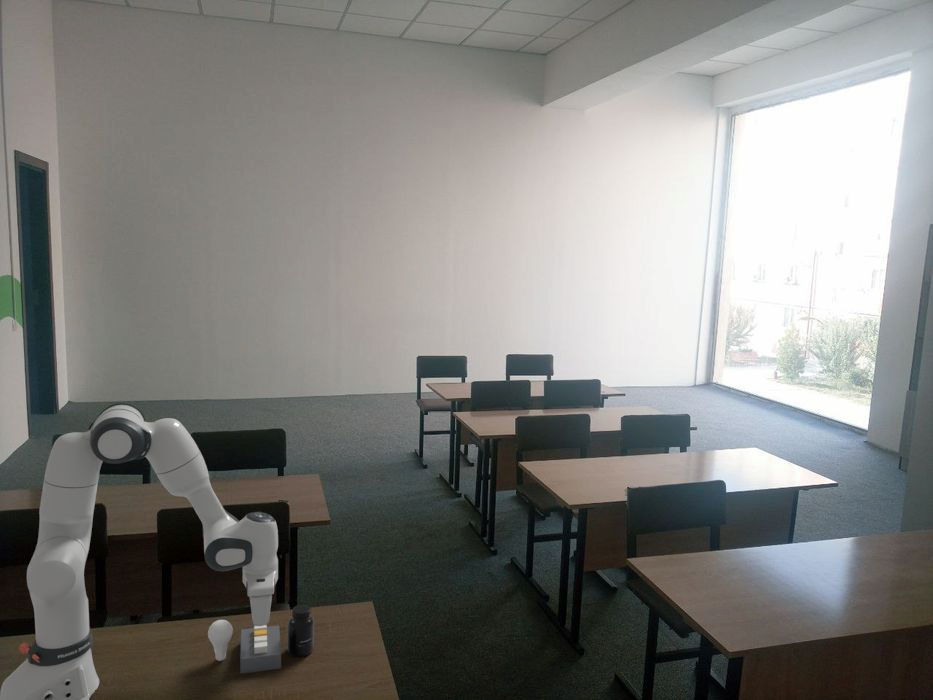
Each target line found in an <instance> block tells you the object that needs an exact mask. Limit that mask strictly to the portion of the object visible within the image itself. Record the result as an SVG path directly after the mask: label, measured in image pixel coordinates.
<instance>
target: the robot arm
mask: <svg viewBox="0 0 933 700" xmlns="http://www.w3.org/2000/svg"><path fill="white" fill-rule="evenodd" d="M54 441H55V442H54V444H53V446H52V448H51V450H50V454H49V457H48V460H47V463H46V466H45V472H44V478H43V484H42V491H41V497H40V504H39V512H38V514H39V525H38V527H39V528H38V538H37V544H36V545H35V550H34V552H33V555H32V557H31V560H30V562H29V564H28V566H27V569H26V583H27V584H26V585H27V588H28V591H29V596H30V599H31V603H32V606H33V612H34V613H33V614H34V628H35V639H34V642H33V643H32V645H29V644H28V643H27V642H23V643H21V644H20V646H19V647H18V650H19V652H21V654H23V655H27V658H26V659H25V660H24V661H23V662H22V663H21V664H20V665H19V666H18V667H17V668H16V669H15V670H14V671H12V672H11V674H10V675H9V676H7V677H6V678H5V679H4V681H3V682H2V684H1V688H0V700H90V699H91V696H92V695H93V694H94V693H95V692H96V691H95V690H97V689H98V687H99V685H100V678H99V676H98V674H97V671H96V668H95V665H94V661H93V659H94V658H93V655H92V650H93V634H92V628H91V627H90V611H89V598H88V596H87V591H86V586H85V585H86V584H85V576H84V575H85V568H86V567H85V566H86V562H87V558H88V554H89V551H90V543H91V537H92V528H93V522H94V521H93V518H94V511H95V504H96V498H97V492H98V486H99V485H98V483H99V479H100V473H101V472H100V470H101V467H102V464H103V462H104V463H107V464H112V465H113V464H115V465H116V464H122V463H126V462H130V461H135V460H136V461H137V460H141V459H143V458H146V459H147V461H148V462H149V464H150V466H151V468H152V470H153V471H154V473H155V474H156V476H157V478H158V480H159V482H160V483H161V485H162V486H163V487H164V489H166V490H167V491H168V492H169V494H170V495H172V496H174V497H182V498H183V497H185V498H186V499H187V501H189V503H190V504H191V506H192V508H193V509H194V511H195V513H196V515H197V516H198V518H199V520H200V521H201V524H202V538H203V550H204V551H203V553H204V561H205V563H206V564H207V566H208V567H209V568H210V569H212V570H214V571H217V572H228V571H233V570H237V569H239V568H242V583H243V584H244V587H245V589H246V594H247V597H248V598H249V602H250V609H251V610H250V611H251V617H252V618H251V619H252V625H253V626H263V625H268V624H269V622H270V615H271V606H272V598H273V596H272V595H274V593H275V587H276V584H277V582H278V580H279V558H278V555H277V552H278V548H279V534H278V533H279V530H278V525H277V522H276V519H275V518H274V517H273V516H272V515H270V514H268V513H266V512H262V511H254V512H253V511H252V512H249V513H247V514H246V515H245V516H244V517H243V518H242V519H241V520H239V519H238V518H237V517H235V515H233V514H231V513H230V512H229V511H227V510H226V508H224V505H223V504H222V503H221V501H220V498H219V497H218V496H217V494H216V492H215V490H214V488H213V487H212V486H213V485H212V484H211V481H210V474H209V470H208V467H207V464H206V461H205V458H204V456H203V455H202V452H201V450H200V449H199V446H198V445H197V443H196V441H195V440H194V439H193V437H192V436H191V434H190V432H189V431H188V430H187V429H186V427H185V425H183V424H182V423H181V421H179V420H177V419H176V418H172V417H165V418H161V419H158V420H155V421H152V422H151V421H150V422H148V421H146V418H145V415H144V414H143V412H142V411H141V410H140V409H139V408H138V407H137V406H135V405H134V404H131V403H127V402H118V403H114V404H112V405H109V406H107V407H106V408H105V409H103V410H102V411H101V412H100V413H99V414H98V415H97V417H96V418H95V420H93V422H92V423H91V424H90V425H89V427H88V430H87V431H85V432H76V431H73V432H69V433H65V434H63V435H60V436H59V437H57V439H56V440H54ZM89 698H90V699H89Z"/></svg>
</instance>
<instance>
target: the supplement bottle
mask: <svg viewBox="0 0 933 700" xmlns="http://www.w3.org/2000/svg"><path fill="white" fill-rule="evenodd" d="M314 632H315V620H314V618H313V616H312V615H311V607H310V606H308V605H307V604H300V605H299V604H298V605H295V606H294V607H292V609H291V616H290V618H289V620H288V622H287V652H288V654H289V655H290V656H292V657H296V658H301V657H307V656H308V655H310V654H311V653H312V652H313V650H314V639H315V638H314V635H315V633H314Z"/></svg>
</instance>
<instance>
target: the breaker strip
mask: <svg viewBox="0 0 933 700" xmlns="http://www.w3.org/2000/svg"><path fill="white" fill-rule="evenodd" d="M267 625H268V624H267ZM267 625H263V626H254V625H253V626H254V627H252V628H243V629H241V630H240V657H239V658H240V659H239V661H240V663H239V664H240V665H239V668H240V670H239V671H240V672H239V673H240V674H247V673H249V674H250V673H256V672H263V671H270V670H278V669H279V670H280V669H282V649H281V648H282V647H281V632H280V625H270V626H267Z"/></svg>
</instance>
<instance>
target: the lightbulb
mask: <svg viewBox="0 0 933 700" xmlns="http://www.w3.org/2000/svg"><path fill="white" fill-rule="evenodd" d="M233 633H234V630H233V625H232V624H231V622H230V621H228V620H226V619H218V620H216V621H214V622H212V624H210V626H209V628H208V631H207V637H208V640H209V641H210V642H211V645H212V646H213V652H214V653H215V655H214V656H215V660H216V661H219V662H222V661H224V660H225V659H226V656H227V650H228V644H229V642H230V640H231V638H232V636H233Z"/></svg>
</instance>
